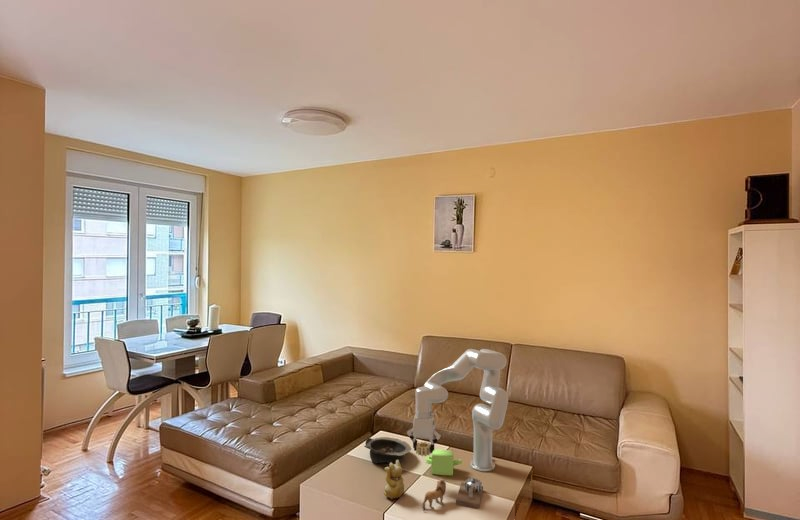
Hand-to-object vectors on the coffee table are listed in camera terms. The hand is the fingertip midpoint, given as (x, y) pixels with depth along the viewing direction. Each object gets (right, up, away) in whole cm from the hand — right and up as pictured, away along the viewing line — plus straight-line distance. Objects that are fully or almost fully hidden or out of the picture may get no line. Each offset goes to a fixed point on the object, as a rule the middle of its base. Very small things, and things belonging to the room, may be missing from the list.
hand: (423, 450), depth 201 cm
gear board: (+20, -16, -11) cm, 28 cm away
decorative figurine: (-13, -16, -11) cm, 23 cm away
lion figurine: (+4, -16, -17) cm, 24 cm away
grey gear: (+22, -14, -8) cm, 27 cm away
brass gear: (0, -1, 0) cm, 1 cm away
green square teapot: (+11, -16, +13) cm, 23 cm away
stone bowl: (-18, -16, +25) cm, 35 cm away
